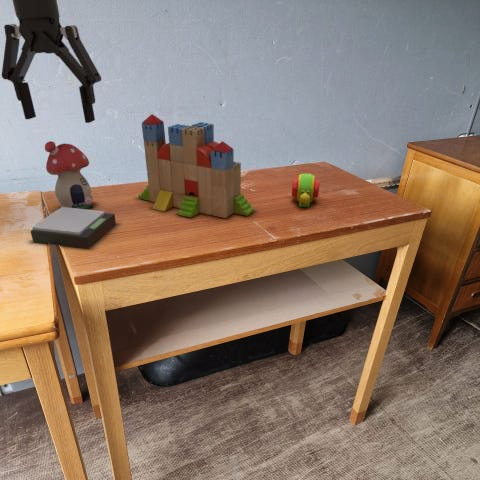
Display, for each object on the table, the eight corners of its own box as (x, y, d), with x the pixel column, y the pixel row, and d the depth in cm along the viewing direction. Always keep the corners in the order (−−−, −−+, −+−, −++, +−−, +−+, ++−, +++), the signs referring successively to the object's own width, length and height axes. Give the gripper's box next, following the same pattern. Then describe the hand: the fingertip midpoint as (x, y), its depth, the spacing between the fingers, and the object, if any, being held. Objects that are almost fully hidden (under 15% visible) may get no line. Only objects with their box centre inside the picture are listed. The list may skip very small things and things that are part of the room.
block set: (260, 207, 105) (264, 119, 93) (231, 228, 94) (232, 132, 83) (164, 186, 115) (157, 105, 104) (128, 203, 105) (116, 115, 94)
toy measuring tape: (289, 209, 104) (292, 181, 100) (294, 182, 119) (296, 157, 116) (317, 211, 103) (320, 183, 99) (318, 184, 119) (321, 159, 115)
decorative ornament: (58, 215, 99) (42, 145, 90) (53, 205, 103) (36, 137, 95) (100, 208, 102) (88, 140, 94) (93, 199, 107) (81, 133, 98)
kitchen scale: (33, 242, 87) (29, 228, 86) (65, 219, 97) (62, 205, 95) (89, 248, 85) (86, 234, 84) (116, 224, 95) (114, 211, 93)
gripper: (106, -7, 81) (123, 119, 93) (-14, -7, 85) (17, 113, 97) (86, -8, 75) (107, 126, 87) (-42, -8, 79) (-5, 120, 91)
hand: (60, 119), depth 92 cm, fingers open, 13 cm apart
